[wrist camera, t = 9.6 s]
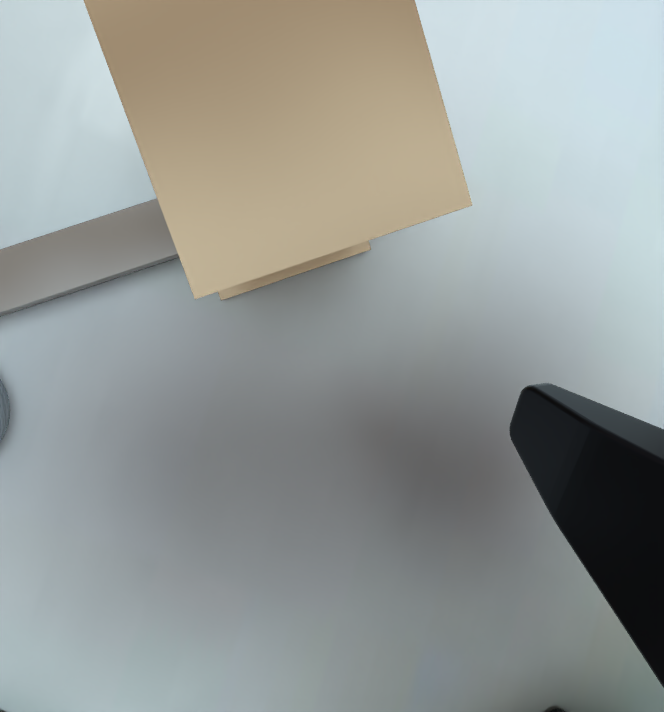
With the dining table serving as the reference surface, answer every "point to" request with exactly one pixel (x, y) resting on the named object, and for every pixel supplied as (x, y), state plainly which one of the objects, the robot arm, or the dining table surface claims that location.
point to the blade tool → (257, 144)
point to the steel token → (3, 410)
